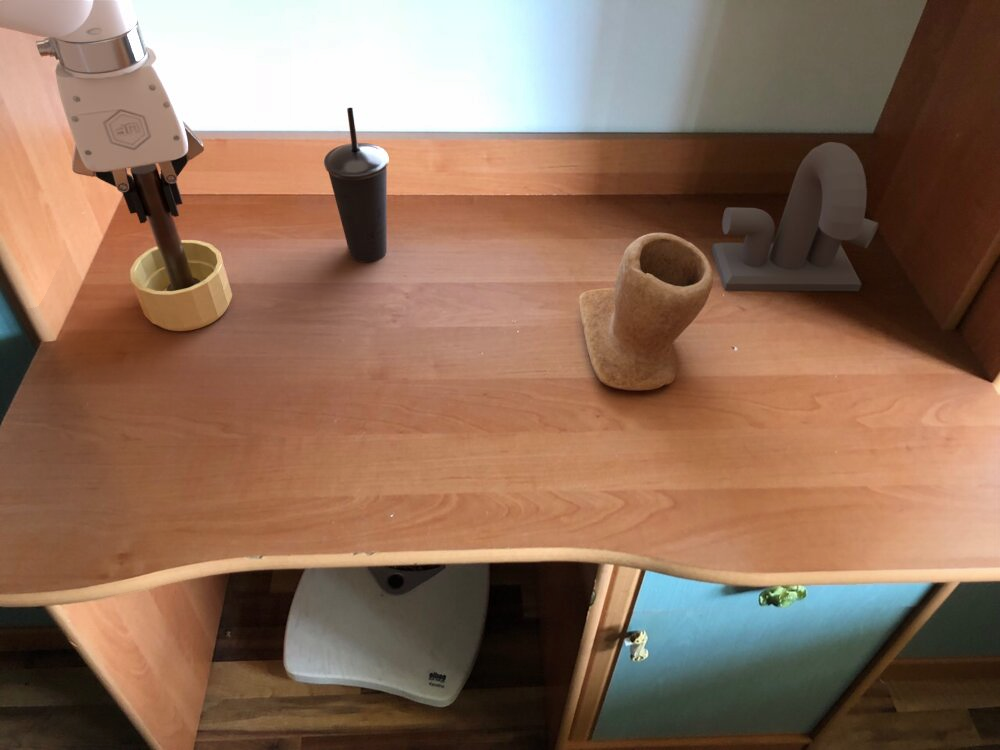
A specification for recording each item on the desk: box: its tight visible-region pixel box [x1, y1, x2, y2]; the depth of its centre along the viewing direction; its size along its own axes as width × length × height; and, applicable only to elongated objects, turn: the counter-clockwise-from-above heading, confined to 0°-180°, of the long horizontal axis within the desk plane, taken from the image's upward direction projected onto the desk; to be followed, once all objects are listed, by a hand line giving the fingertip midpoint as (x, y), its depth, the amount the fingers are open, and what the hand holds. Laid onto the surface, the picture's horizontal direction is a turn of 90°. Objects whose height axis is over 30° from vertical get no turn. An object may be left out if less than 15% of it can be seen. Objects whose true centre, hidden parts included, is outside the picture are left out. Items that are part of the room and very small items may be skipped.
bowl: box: [129, 239, 233, 332], centre depth 94 cm, size 10×10×6 cm
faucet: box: [710, 141, 879, 292], centre depth 94 cm, size 18×16×20 cm
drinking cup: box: [323, 107, 390, 263], centre depth 97 cm, size 8×8×20 cm
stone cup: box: [578, 232, 714, 392], centre depth 87 cm, size 15×12×15 cm
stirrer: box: [129, 163, 201, 291], centre depth 89 cm, size 4×4×18 cm
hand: (158, 211), depth 87 cm, fingers closed on stirrer, 2 cm apart
